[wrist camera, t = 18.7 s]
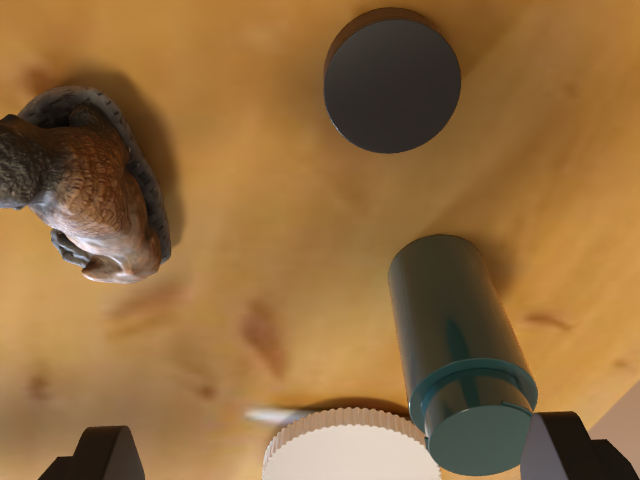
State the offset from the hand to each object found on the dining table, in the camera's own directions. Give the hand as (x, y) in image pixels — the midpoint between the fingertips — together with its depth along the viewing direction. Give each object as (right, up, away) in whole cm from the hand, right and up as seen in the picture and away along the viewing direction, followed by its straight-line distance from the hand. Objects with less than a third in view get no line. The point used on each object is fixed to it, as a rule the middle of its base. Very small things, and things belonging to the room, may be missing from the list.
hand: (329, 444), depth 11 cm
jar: (+7, +2, +25) cm, 26 cm away
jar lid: (+3, +12, +16) cm, 20 cm away
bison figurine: (-12, +8, +21) cm, 26 cm away
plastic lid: (+2, -13, +35) cm, 37 cm away
